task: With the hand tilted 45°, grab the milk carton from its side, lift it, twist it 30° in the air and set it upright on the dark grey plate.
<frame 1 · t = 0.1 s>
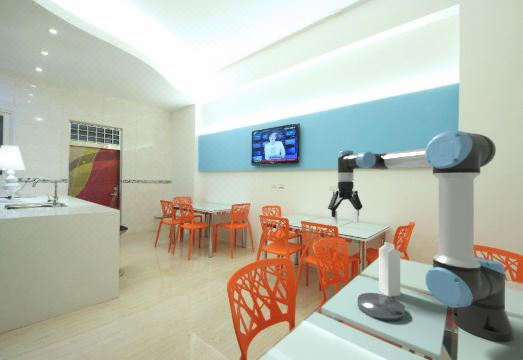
hand: (345, 223, 120), 28 cm above the table, tool pointing down, fingers open, 13 cm apart
milk: (389, 293, 103), on the table
dark grey plate: (380, 309, 90), on the table
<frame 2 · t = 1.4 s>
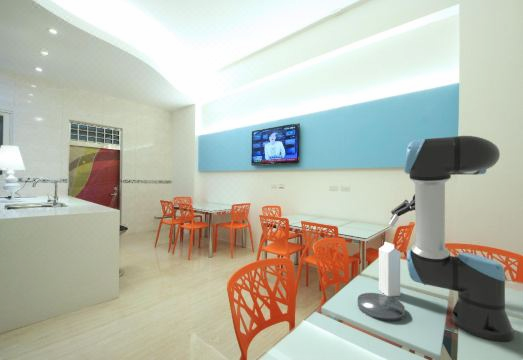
hand: (404, 228, 108), 28 cm above the table, tool tilted 45°, fingers open, 13 cm apart
nothing on the table moved.
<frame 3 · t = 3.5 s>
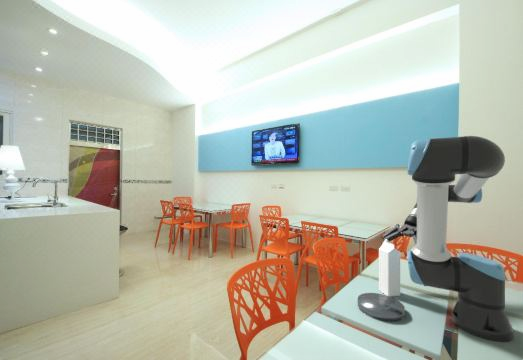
hand: (394, 255, 106), 16 cm above the table, tool tilted 45°, fingers open, 13 cm apart
nothing on the table moved.
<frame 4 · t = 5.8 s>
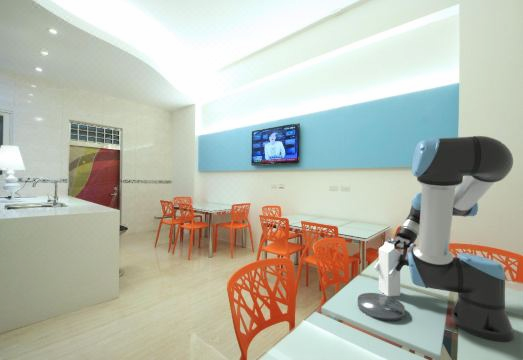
hand: (383, 272, 102), 9 cm above the table, tool tilted 45°, fingers closed on milk, 7 cm apart
milk: (389, 293, 103), on the table, touching gripper
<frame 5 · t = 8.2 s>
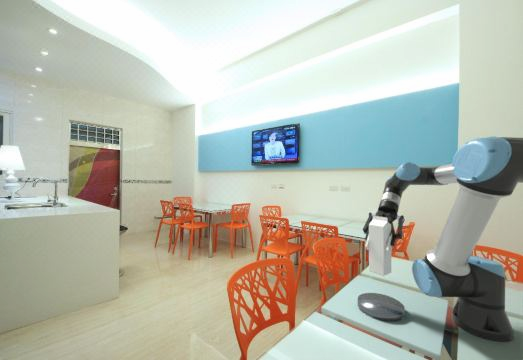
hand: (377, 249, 91), 22 cm above the table, tool tilted 45°, fingers closed on milk, 7 cm apart
milk: (380, 272, 94), point 13 cm above the table, touching gripper
when the fingers open (13 cm above the table, at t = 10.9 s): milk drops 1 cm, resting on dark grey plate.
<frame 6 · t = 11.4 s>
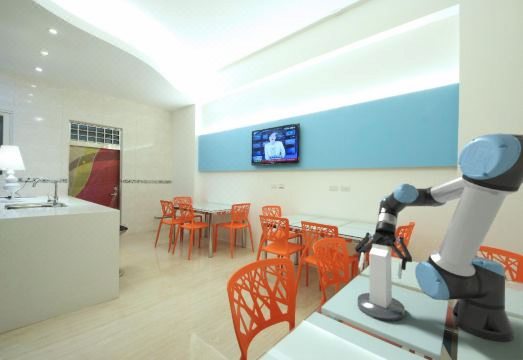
hand: (378, 272, 88), 15 cm above the table, tool tilted 45°, fingers open, 13 cm apart
milk: (380, 303, 90), point 2 cm above the table, touching dark grey plate
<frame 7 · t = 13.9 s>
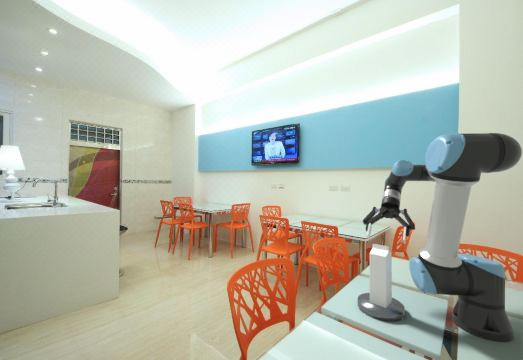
hand: (385, 239, 99), 25 cm above the table, tool tilted 45°, fingers open, 13 cm apart
nothing on the table moved.
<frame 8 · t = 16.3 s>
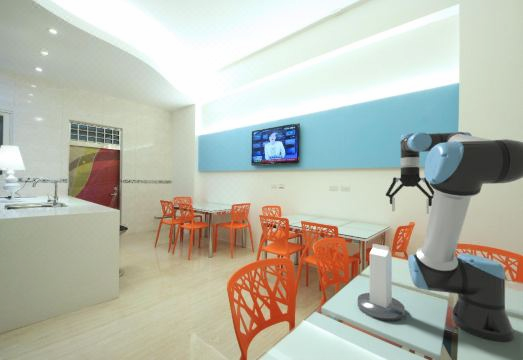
hand: (410, 212, 111), 35 cm above the table, tool pointing down, fingers open, 13 cm apart
nothing on the table moved.
at the end: milk inside the target area on the dark grey plate (0.1 cm from its centre), point 2.3 cm above the dark grey plate's base; milk tilted 0°; milk touching dark grey plate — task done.
